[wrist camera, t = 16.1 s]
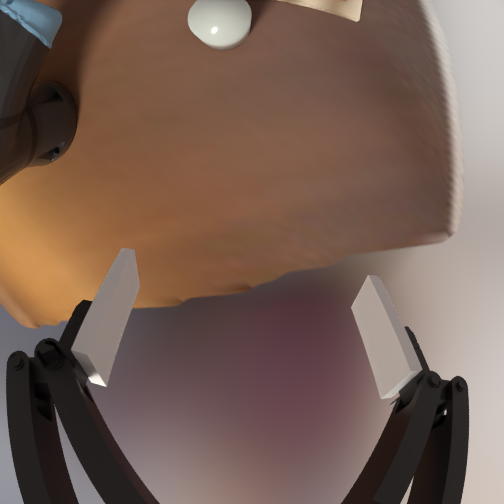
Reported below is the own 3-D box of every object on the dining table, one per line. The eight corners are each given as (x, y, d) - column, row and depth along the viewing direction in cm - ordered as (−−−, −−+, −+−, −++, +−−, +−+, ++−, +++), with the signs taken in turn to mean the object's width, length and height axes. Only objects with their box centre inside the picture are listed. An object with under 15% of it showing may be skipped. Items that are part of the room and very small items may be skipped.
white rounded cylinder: (195, 48, 29) (183, 41, 22) (203, 7, 25) (193, -10, 18) (246, 52, 29) (246, 45, 23) (253, 10, 25) (256, -6, 19)
